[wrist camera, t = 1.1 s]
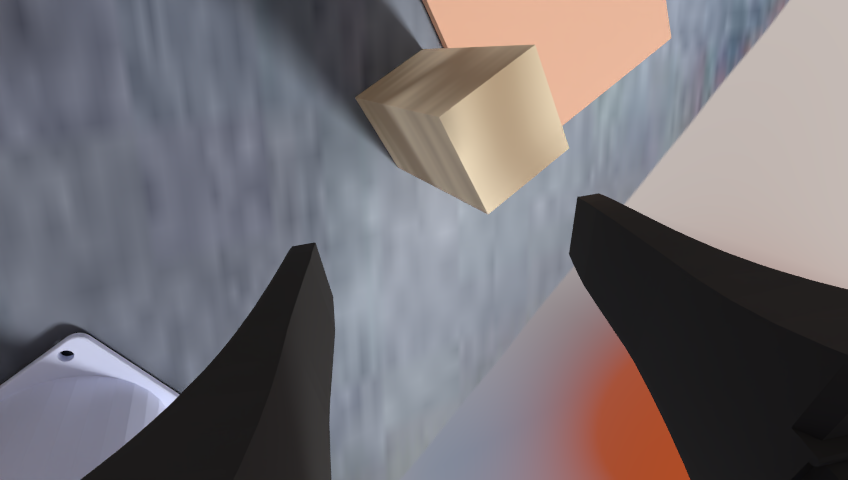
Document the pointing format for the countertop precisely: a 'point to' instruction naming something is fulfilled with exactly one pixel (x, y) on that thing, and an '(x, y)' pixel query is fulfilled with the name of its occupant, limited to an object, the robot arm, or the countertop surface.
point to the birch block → (468, 120)
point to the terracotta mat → (561, 38)
